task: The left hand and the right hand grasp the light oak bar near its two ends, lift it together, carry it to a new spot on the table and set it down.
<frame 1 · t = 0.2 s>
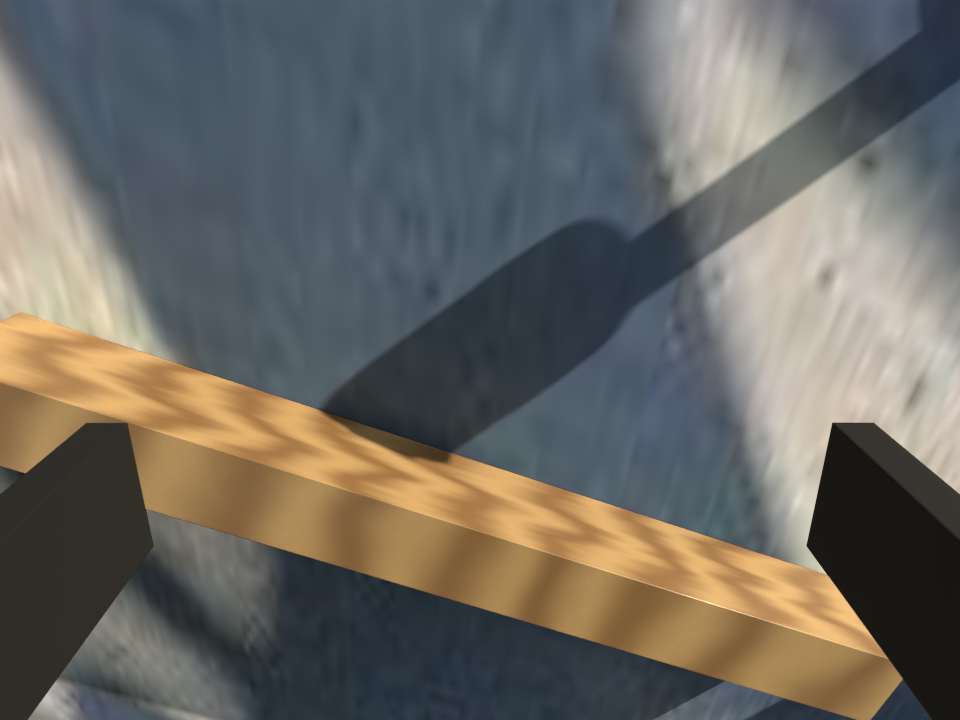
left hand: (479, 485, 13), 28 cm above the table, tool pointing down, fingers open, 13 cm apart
bar: (456, 489, 45), on the table
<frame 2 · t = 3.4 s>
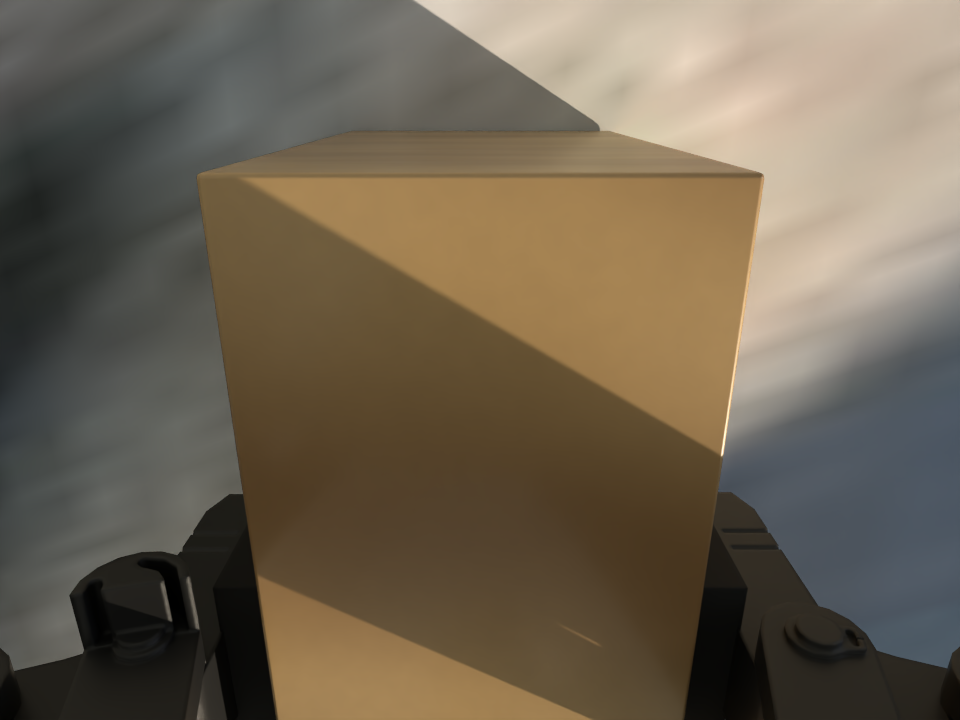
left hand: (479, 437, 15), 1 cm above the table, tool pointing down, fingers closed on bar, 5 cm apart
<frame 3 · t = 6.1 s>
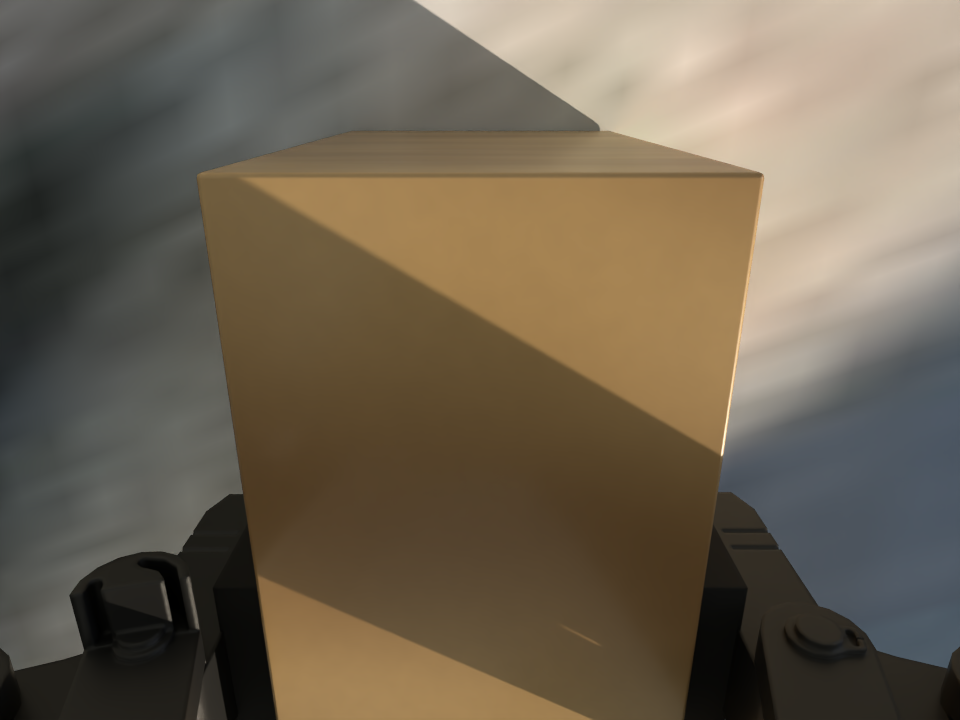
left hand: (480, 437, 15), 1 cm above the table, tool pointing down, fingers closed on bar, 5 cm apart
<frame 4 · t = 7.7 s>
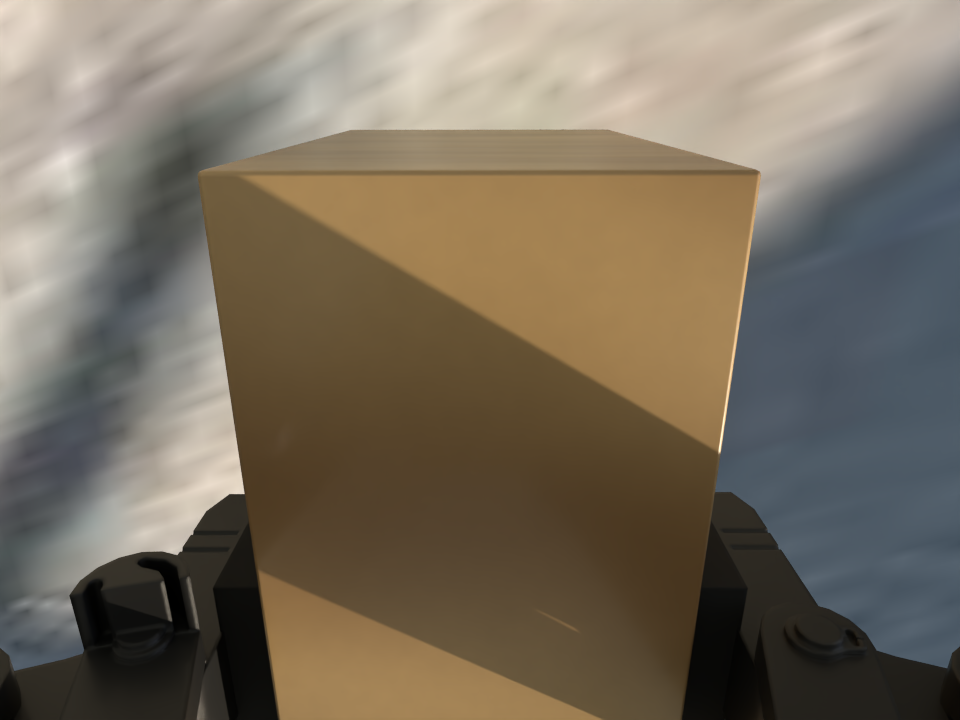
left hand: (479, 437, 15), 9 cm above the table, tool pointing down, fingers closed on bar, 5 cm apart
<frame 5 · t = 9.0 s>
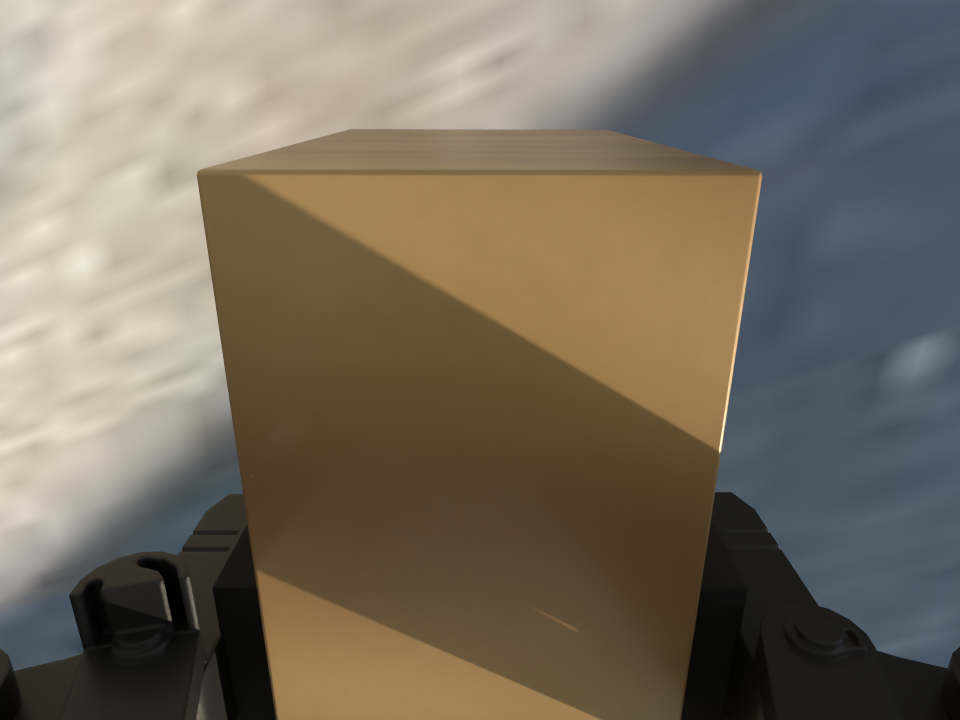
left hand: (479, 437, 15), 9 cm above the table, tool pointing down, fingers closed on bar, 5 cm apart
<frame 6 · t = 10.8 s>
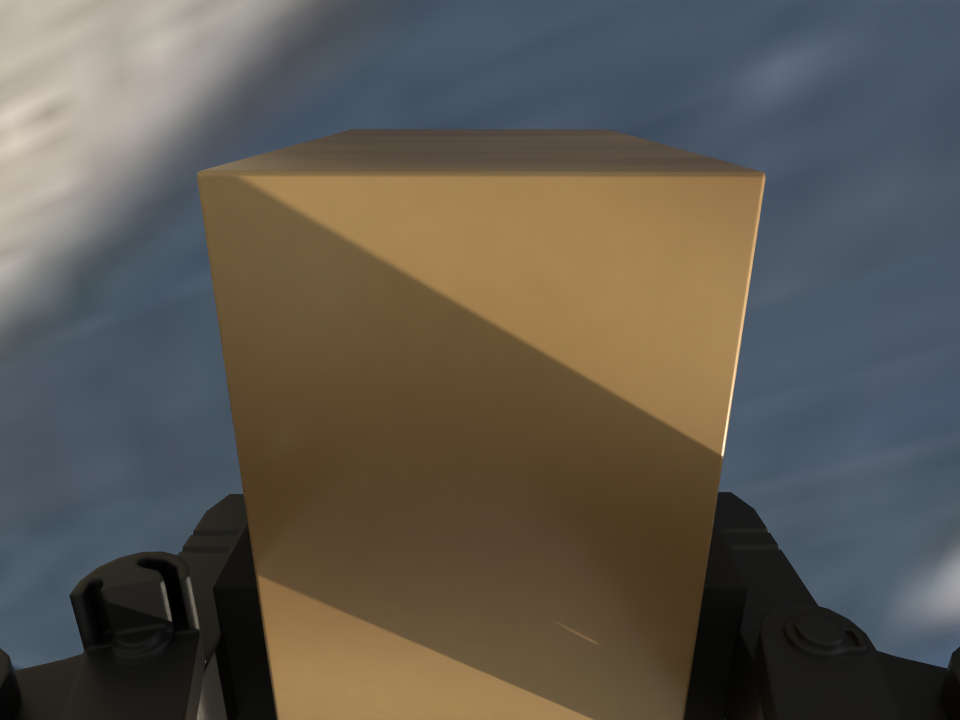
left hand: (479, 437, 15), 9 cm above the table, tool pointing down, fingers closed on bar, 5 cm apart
when the left hand's fingers open (2 cm above the table, at t = 12.0 s): bar drops 2 cm, on the table.
when the right hand's fingers open (5 cm above the table, at t = 12.2 s): bar stays where it is, on the table.
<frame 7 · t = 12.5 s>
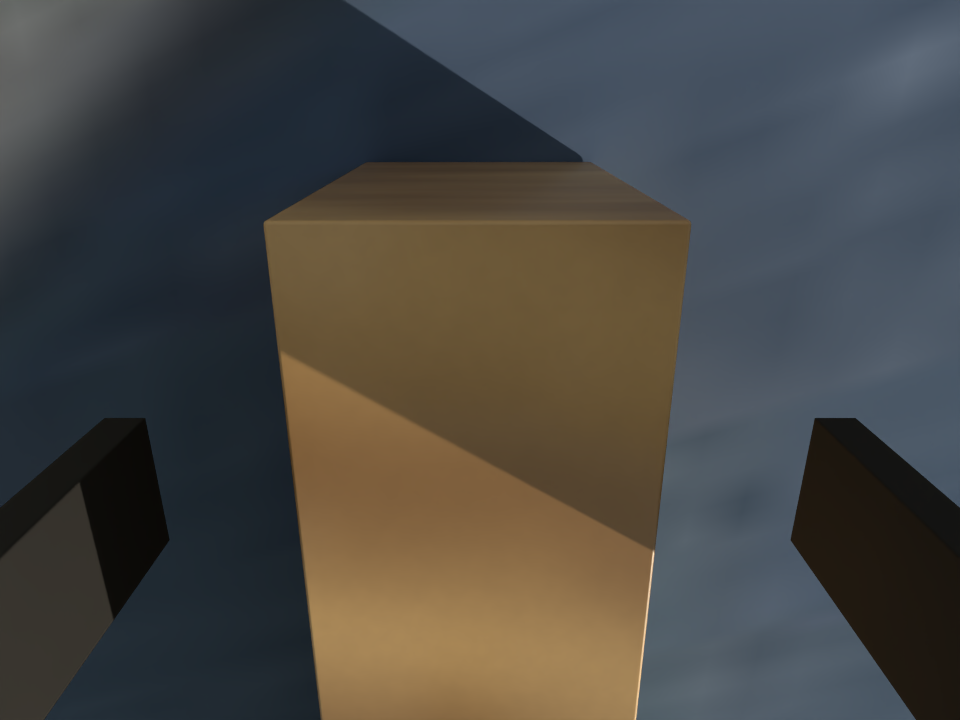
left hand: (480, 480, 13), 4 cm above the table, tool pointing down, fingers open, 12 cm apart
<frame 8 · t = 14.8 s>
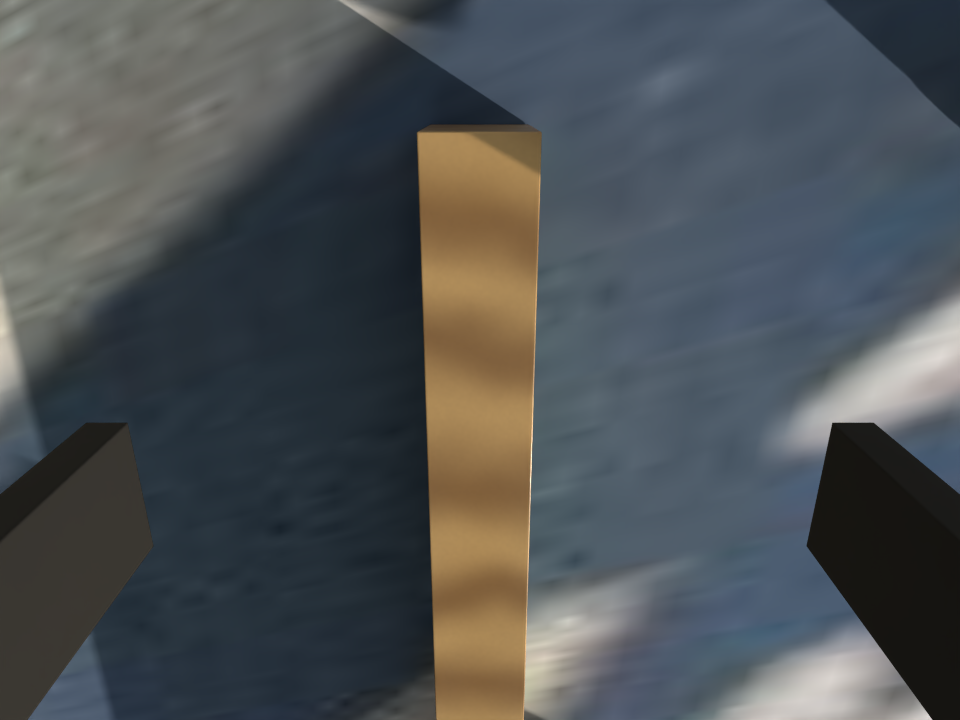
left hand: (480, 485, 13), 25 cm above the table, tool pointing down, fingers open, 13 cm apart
bar: (479, 586, 45), on the table
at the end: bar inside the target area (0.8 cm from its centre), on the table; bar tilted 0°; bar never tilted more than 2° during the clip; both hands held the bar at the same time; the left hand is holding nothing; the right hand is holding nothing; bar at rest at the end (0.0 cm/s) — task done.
